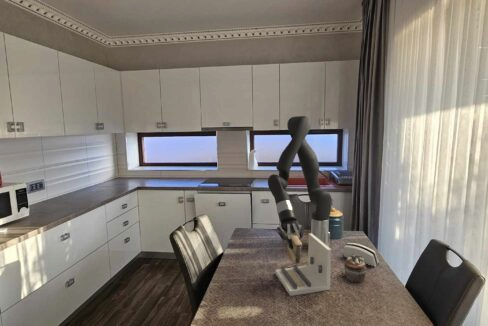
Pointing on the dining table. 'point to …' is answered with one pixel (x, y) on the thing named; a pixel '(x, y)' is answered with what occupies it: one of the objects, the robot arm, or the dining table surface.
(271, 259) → the dining table surface
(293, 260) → the wooden block
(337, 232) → the canister
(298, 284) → the l-shaped angle bracket
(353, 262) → the cupcake
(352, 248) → the white arched napkin holder
